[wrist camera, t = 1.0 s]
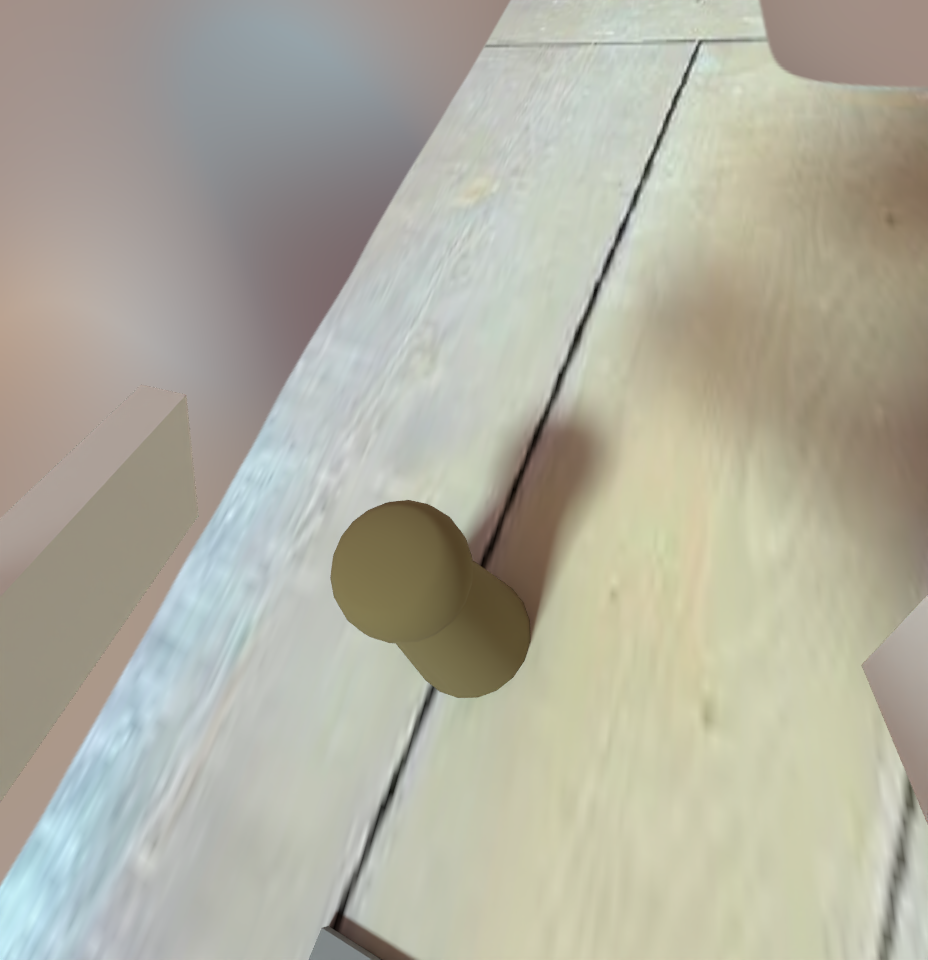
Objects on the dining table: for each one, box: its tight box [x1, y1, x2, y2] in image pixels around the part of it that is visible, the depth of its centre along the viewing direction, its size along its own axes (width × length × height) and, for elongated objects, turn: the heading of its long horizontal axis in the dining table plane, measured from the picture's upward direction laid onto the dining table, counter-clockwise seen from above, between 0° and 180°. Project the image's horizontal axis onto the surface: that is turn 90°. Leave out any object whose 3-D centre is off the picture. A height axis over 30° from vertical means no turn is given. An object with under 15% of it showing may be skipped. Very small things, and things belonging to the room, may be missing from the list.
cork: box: [330, 500, 530, 698], centre depth 27 cm, size 6×6×11 cm
